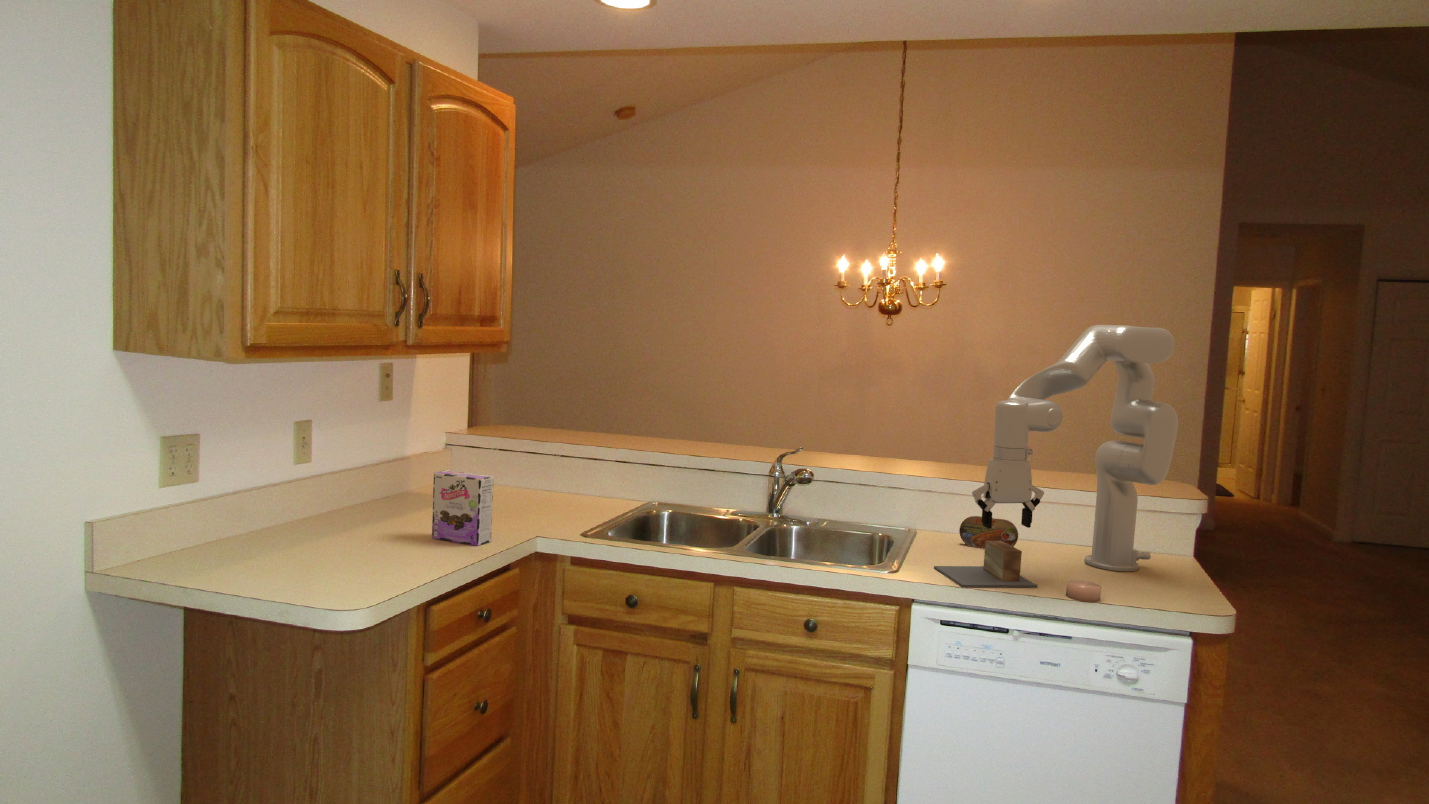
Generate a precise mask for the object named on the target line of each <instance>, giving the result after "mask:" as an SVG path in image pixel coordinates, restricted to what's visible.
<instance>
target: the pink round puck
mask: <svg viewBox="0 0 1429 804" xmlns="http://www.w3.org/2000/svg"><path fill="white" fill-rule="evenodd" d="M1101 595H1102V586H1101V585H1100V584H1099V583H1095V582H1092V581H1087V580H1079V579H1071V580H1067V582H1066V590H1065V596H1066V597H1067V598H1069V599H1072V600H1075V601H1079V602H1085V603H1097V602H1099V601H1100V600H1101Z"/></svg>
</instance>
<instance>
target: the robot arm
mask: <svg viewBox="0 0 1429 804" xmlns="http://www.w3.org/2000/svg"><path fill="white" fill-rule="evenodd" d="M1175 347H1176V343H1175V338H1174V336H1173V334H1172V333H1171V332H1170V331H1169V330H1168V329H1165V328H1162V327H1149V326H1148V327H1145V326H1133V325H1123V324H1122V325H1119V324H1117V325H1116V324H1094V325H1092V326H1089V327H1087V328H1086V329H1084V331H1083V332H1082V333H1081V334H1080V335H1079V337H1078V338H1076V340H1075V341H1074V342H1073V344H1072V345H1071V346H1070V347H1069V348H1068V349H1067V350H1066V352H1065V353H1064V354H1063V355H1062V356H1061V357H1060V358H1059V359H1058V361H1057V362H1055V363H1054V364H1052V365H1049V366H1047V367H1045V368H1044V369H1042V370H1040V371H1038V372H1036V373H1034V374H1033V375H1031V376H1029V377H1027V378H1026V379H1025V380H1023V381H1022V382H1021V383H1019V385H1018V386H1017V387H1016V388H1015V389H1014V390H1013V391H1012V393H1011V394H1009V396H1008V398H1007V399H1005V400H1004V399H1003V400H999V401H998V402H997V403H996V405H995V411H994V412H995V413H994V432H993V434H994V435H993V449H992V450H993V452H992V458H989V460H988V463H987V467H986V470H985V471H986V472H985V477H984V485H982V486H980V487H978V488H976V489H974V490H973V491H972V492H971V494H972V497H973V498H974V501H975V504H976V505H977V506H978V507H979V508H980V509H981V517H982V524H983V526H984V527H986V528H988V529H991V528H992V518H993V512H992V509H993V507H995V505H996V504H1022V506H1023V507H1022V509H1021V524H1020V525H1022V526H1023V527H1026V528H1029V529H1030V528H1031V525H1032V523H1033V511H1035V510H1036V507H1037V506H1038V505H1039V504H1041V500H1042V498H1043V497H1044V494H1045V491H1044V490H1042V489H1041V488H1039V487H1036V486H1035V485H1033V479H1032V478H1033V476H1032V469H1031V462H1030V460H1029V456H1031V455H1033V449H1032V448H1029V445H1028V444H1029V432H1038V433H1050V432H1053V431H1055V430H1056V429H1058V428H1059V427H1060V426H1061V424H1062V422H1063V418H1064V414H1063V410H1062V407H1060V406H1059V404H1057V403H1056V402H1054V401H1052V400H1048V399H1049V398H1050V397H1054V396H1057V395H1060V394H1066V393H1068V392H1069V393H1070V392H1074V391H1076V390H1079V389H1082V388H1085V387H1086V386H1087V385H1088V384H1089V382H1090V381H1091V380H1092V379H1093V378H1094V376H1095V375H1096V374H1097V373H1098V372H1099V370H1101V368H1102V367H1103V366H1104V365H1105V364H1106V363H1107V362H1109V361H1112V362H1113V364H1114V366H1115V369H1116V372H1117V383H1116V384H1117V385H1116V390H1115V396H1114V400H1113V404H1112V408H1111V414H1110V420H1109V421H1110V429H1112V431H1113V432H1114V433H1116V434H1118V435H1121V436H1125V437H1129V438H1136V439H1142V440H1143V443H1137V442H1130V441H1125V440H1118V439H1117V440H1116V439H1115V440H1109V441H1105V442H1104V443H1102V444H1100V445H1099V447H1098V448H1097V450H1096V452H1095V455H1094V456H1095V459H1094V460H1095V461H1094V463H1095V472H1096V497H1095V510H1094V521H1093V522H1094V523H1093V533H1092V546H1091V554H1089V555H1086V556H1084V559H1083V560H1084V563H1085V564H1087V565H1089V566H1091V567H1094V568H1099V569H1102V570H1107V571H1108V570H1109V571H1113V572H1116V571H1117V572H1134V571H1137V570H1138V569H1139V563H1137V561H1139V560H1150V559H1151V552H1150V551H1141V552H1140V551H1139V550H1137V549H1135V548H1134V545H1135V535H1136V533H1135V532H1136V522H1137V513H1138V512H1137V511H1138V510H1137V509H1138V497H1139V496H1138V493H1137V490H1136V487H1135V485H1134V483H1137V484H1142V485H1147V486H1156V485H1159V484H1161V483H1162V482H1163V481H1164V480H1165V479H1166V478H1167V475H1168V474H1169V470H1170V466H1171V463H1172V458H1173V453H1174V450H1175V444H1176V441H1177V434H1178V429H1179V418H1178V414H1177V411H1176V409H1175V408H1174V407H1173V406H1172V405H1171V404H1169V403H1167V402H1164V401H1157V400H1153V397H1154V392H1155V386H1156V378H1155V374H1154V373H1153V370H1152V368H1151V366H1150V364H1161V363H1164V362H1166V361H1167V360H1169V359H1170V358H1171V357H1172V356H1173V354H1174V351H1175ZM1032 493H1034V496H1033V497H1032ZM982 495H983V498H984V500H983V499H982Z"/></svg>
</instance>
